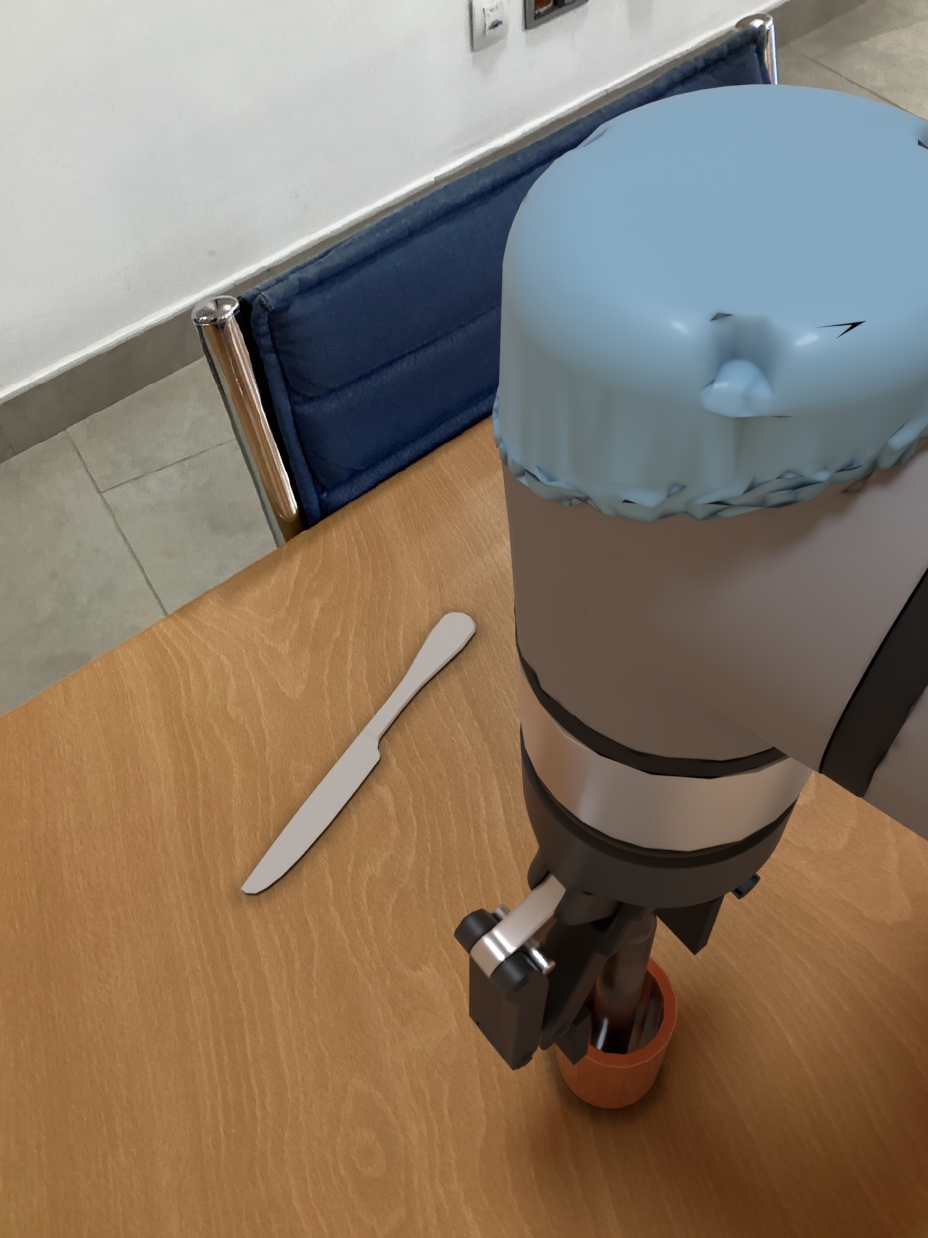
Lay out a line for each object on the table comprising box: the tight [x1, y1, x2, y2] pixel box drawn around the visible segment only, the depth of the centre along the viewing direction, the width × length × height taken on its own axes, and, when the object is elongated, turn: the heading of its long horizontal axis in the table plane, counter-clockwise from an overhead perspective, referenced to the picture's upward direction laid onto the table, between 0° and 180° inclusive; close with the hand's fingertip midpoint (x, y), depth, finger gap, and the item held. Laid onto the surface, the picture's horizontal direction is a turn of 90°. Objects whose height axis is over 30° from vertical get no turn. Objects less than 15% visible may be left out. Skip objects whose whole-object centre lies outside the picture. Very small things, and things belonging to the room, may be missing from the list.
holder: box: [555, 956, 678, 1110], centre depth 54 cm, size 6×6×10 cm
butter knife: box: [240, 611, 477, 894], centre depth 69 cm, size 1×24×3 cm
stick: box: [590, 910, 658, 1054], centre depth 48 cm, size 2×2×22 cm
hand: (620, 979), depth 46 cm, fingers open, 6 cm apart
